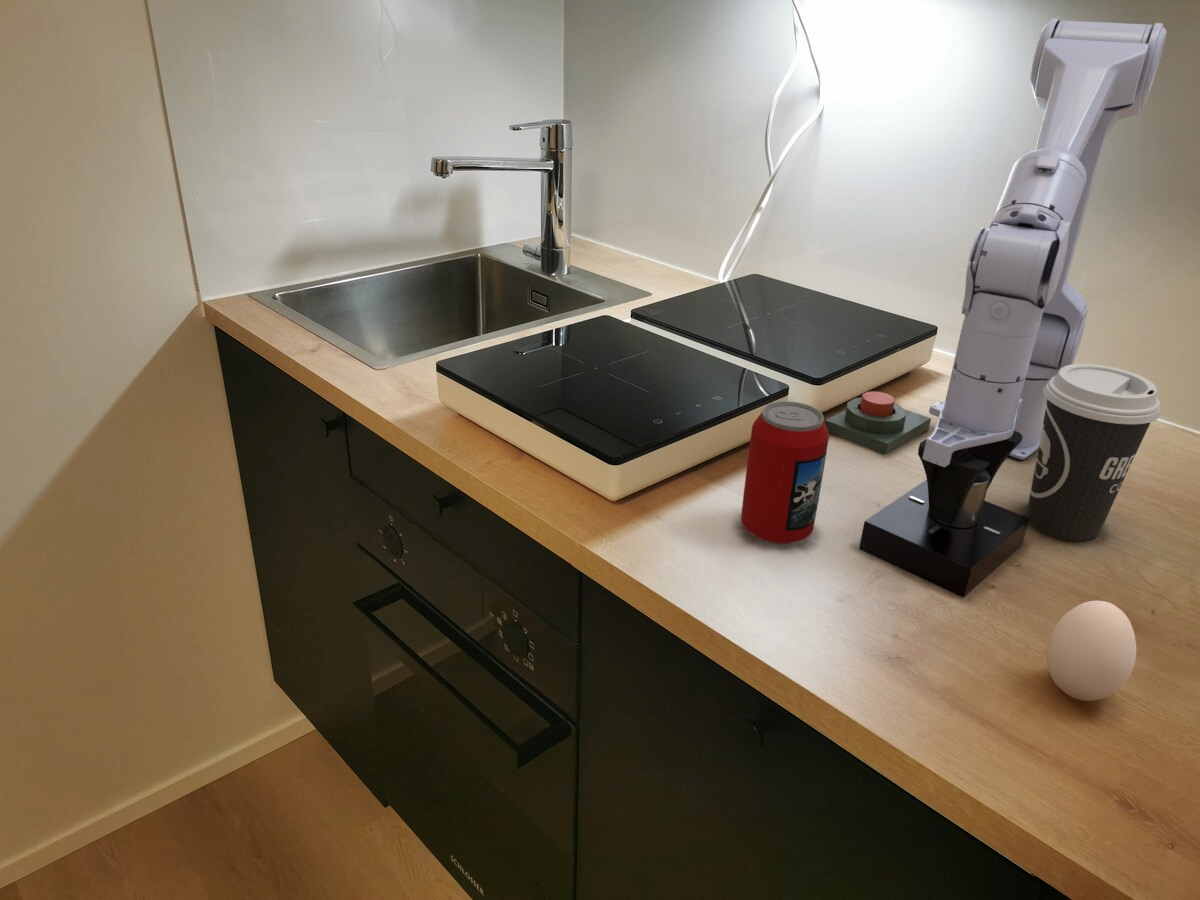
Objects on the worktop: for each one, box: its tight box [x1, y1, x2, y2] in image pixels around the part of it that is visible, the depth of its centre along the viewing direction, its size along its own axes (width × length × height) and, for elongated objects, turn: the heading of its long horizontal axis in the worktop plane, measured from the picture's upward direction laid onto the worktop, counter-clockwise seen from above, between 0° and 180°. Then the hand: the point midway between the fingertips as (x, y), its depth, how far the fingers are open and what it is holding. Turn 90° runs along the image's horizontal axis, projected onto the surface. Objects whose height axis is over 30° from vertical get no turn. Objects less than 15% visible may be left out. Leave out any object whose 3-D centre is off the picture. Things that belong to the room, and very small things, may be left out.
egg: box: [1045, 599, 1137, 702], centre depth 64 cm, size 6×6×8 cm
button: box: [860, 391, 896, 417], centre depth 103 cm, size 4×4×2 cm
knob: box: [928, 469, 990, 528], centre depth 81 cm, size 4×4×5 cm
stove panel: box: [858, 479, 1030, 599], centre depth 82 cm, size 12×10×3 cm
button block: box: [824, 397, 932, 455], centre depth 105 cm, size 10×8×3 cm
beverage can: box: [740, 400, 830, 545], centre depth 82 cm, size 7×7×12 cm
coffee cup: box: [1025, 363, 1162, 542], centre depth 84 cm, size 10×10×15 cm
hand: (954, 509), depth 82 cm, fingers closed on knob, 4 cm apart
